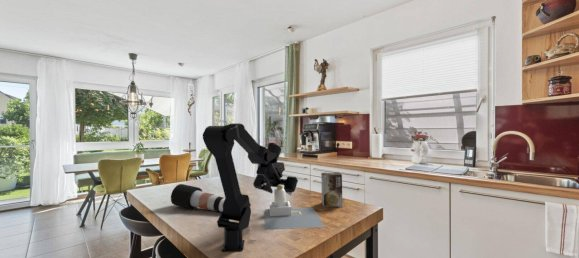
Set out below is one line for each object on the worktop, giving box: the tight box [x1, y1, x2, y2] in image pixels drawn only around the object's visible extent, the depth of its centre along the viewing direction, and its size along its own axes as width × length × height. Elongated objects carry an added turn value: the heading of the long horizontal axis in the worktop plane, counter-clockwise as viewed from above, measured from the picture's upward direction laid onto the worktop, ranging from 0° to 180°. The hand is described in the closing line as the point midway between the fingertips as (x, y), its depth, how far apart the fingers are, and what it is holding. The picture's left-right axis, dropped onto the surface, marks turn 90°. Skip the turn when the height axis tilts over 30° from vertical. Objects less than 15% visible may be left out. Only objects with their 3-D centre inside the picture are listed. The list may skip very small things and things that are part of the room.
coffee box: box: [320, 172, 343, 209], centre depth 123 cm, size 9×6×16 cm
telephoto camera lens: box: [170, 183, 225, 213], centre depth 118 cm, size 10×34×10 cm, turn 68°
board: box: [264, 200, 326, 230], centre depth 105 cm, size 24×22×5 cm
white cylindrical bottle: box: [273, 185, 286, 207], centre depth 111 cm, size 5×5×12 cm
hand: (281, 193), depth 112 cm, fingers open, 9 cm apart
